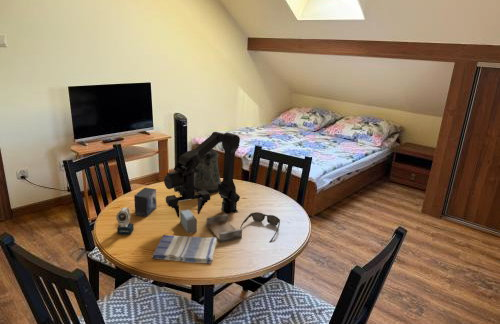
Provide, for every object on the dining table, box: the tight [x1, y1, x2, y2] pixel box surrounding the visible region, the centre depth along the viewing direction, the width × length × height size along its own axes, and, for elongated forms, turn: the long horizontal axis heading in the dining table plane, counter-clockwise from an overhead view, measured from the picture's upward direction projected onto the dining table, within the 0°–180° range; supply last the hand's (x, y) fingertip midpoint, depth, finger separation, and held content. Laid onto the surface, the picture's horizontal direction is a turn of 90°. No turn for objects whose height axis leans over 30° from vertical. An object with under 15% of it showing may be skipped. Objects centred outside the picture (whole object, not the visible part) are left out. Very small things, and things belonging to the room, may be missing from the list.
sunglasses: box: [239, 211, 281, 243], centre depth 156 cm, size 16×17×5 cm
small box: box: [133, 187, 157, 218], centre depth 166 cm, size 11×6×10 cm, turn 168°
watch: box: [115, 207, 135, 236], centre depth 147 cm, size 6×8×11 cm
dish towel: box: [151, 234, 218, 264], centre depth 138 cm, size 17×24×3 cm
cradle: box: [206, 213, 243, 244], centre depth 153 cm, size 10×16×4 cm, turn 28°
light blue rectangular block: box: [179, 208, 198, 234], centre depth 155 cm, size 4×11×6 cm, turn 28°
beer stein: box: [195, 148, 222, 195], centre depth 194 cm, size 16×19×25 cm
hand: (188, 215), depth 154 cm, fingers open, 9 cm apart
